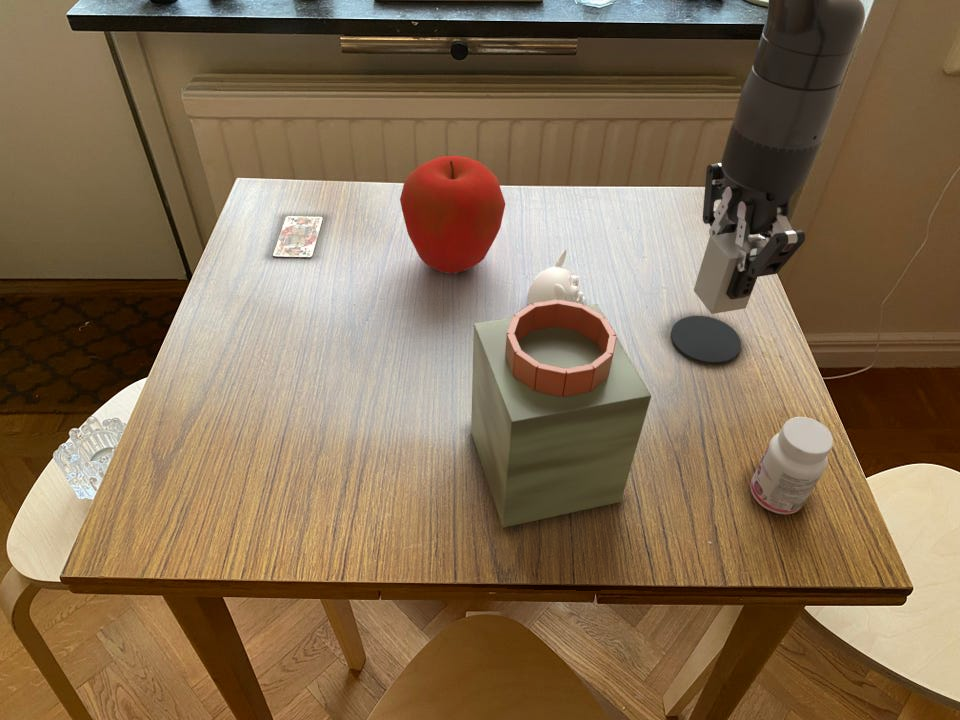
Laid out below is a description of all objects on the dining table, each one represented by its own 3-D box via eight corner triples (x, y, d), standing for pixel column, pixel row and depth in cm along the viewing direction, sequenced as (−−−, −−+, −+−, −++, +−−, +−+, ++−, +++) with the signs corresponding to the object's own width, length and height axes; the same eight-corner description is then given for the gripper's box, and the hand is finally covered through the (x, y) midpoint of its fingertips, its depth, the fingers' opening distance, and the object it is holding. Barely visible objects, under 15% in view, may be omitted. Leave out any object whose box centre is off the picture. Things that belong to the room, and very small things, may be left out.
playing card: (311, 257, 87) (311, 256, 87) (272, 256, 87) (272, 256, 87) (323, 216, 94) (323, 216, 94) (286, 216, 94) (286, 216, 94)
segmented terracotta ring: (627, 385, 54) (633, 362, 52) (524, 404, 52) (526, 381, 50) (588, 316, 59) (592, 293, 58) (494, 331, 58) (495, 308, 56)
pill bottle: (747, 468, 66) (776, 408, 60) (800, 477, 65) (834, 417, 59) (750, 510, 63) (781, 451, 57) (806, 520, 62) (843, 462, 56)
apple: (489, 303, 82) (493, 197, 72) (390, 286, 84) (382, 180, 74) (510, 243, 91) (517, 141, 81) (420, 228, 92) (416, 127, 83)
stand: (621, 502, 63) (651, 395, 53) (502, 528, 61) (511, 422, 51) (577, 411, 70) (597, 303, 61) (470, 431, 68) (473, 323, 58)
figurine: (582, 340, 78) (590, 294, 73) (524, 336, 78) (528, 289, 74) (581, 295, 84) (588, 249, 79) (527, 290, 84) (531, 244, 79)
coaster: (753, 358, 77) (754, 355, 76) (689, 370, 75) (690, 367, 75) (719, 313, 82) (720, 311, 81) (659, 323, 80) (659, 321, 80)
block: (745, 308, 73) (766, 253, 68) (711, 314, 72) (729, 259, 68) (726, 285, 76) (745, 230, 71) (693, 290, 75) (709, 235, 70)
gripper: (868, 160, 56) (795, 321, 69) (772, 86, 66) (723, 238, 78) (786, 171, 55) (726, 333, 67) (700, 93, 65) (661, 247, 77)
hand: (725, 281), depth 73 cm, fingers closed on block, 4 cm apart
